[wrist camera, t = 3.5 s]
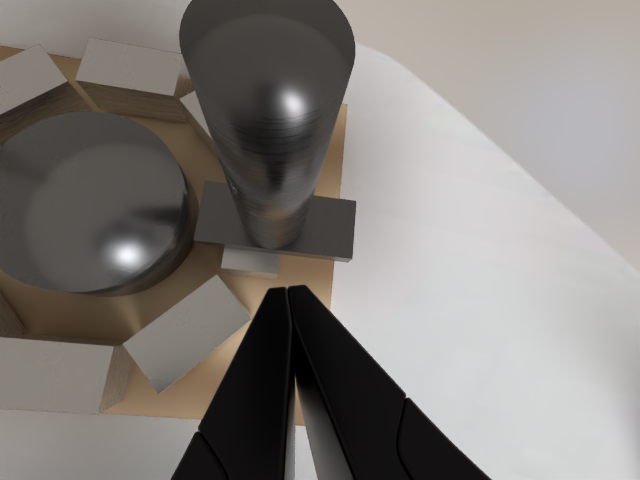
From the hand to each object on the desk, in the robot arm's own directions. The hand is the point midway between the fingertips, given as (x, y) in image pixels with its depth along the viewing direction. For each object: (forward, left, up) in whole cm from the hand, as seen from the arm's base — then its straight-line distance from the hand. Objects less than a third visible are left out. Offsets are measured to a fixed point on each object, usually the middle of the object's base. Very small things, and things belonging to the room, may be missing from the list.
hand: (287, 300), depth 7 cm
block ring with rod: (+3, +6, -7) cm, 10 cm away
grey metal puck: (+3, +8, -9) cm, 12 cm away
